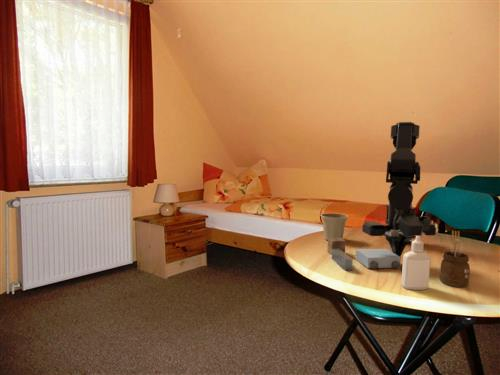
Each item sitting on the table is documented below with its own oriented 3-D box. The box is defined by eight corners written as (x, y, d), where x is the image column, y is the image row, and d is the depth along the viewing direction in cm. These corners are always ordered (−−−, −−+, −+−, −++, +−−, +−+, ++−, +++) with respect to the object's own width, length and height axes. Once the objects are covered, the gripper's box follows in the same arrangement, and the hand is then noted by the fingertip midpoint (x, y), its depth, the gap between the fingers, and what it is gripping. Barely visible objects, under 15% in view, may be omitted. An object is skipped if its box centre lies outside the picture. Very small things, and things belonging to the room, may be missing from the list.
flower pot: (314, 237, 126) (315, 213, 125) (335, 235, 130) (336, 212, 129) (330, 244, 117) (331, 218, 116) (352, 241, 121) (353, 216, 120)
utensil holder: (440, 285, 82) (444, 234, 80) (438, 276, 87) (441, 229, 86) (470, 289, 79) (474, 237, 78) (466, 280, 85) (469, 232, 84)
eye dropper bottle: (428, 293, 77) (432, 239, 76) (400, 288, 80) (404, 236, 78) (428, 286, 81) (431, 235, 80) (401, 282, 83) (404, 232, 82)
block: (340, 251, 108) (340, 237, 108) (344, 255, 104) (345, 240, 104) (327, 252, 108) (327, 237, 107) (331, 256, 104) (332, 241, 103)
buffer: (338, 258, 101) (339, 248, 101) (352, 270, 91) (352, 259, 91) (331, 258, 101) (332, 248, 100) (344, 270, 91) (345, 259, 91)
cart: (384, 257, 102) (384, 247, 102) (401, 268, 93) (402, 258, 92) (354, 258, 101) (354, 248, 101) (369, 269, 92) (369, 258, 91)
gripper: (381, 208, 87) (378, 269, 88) (452, 207, 89) (447, 267, 90) (362, 201, 98) (360, 256, 99) (425, 201, 100) (422, 255, 101)
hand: (397, 258), depth 97 cm, fingers closed
